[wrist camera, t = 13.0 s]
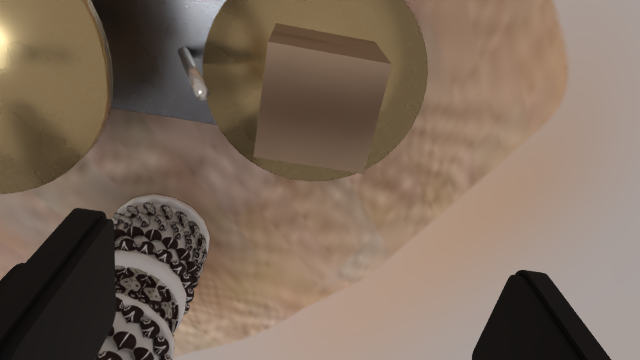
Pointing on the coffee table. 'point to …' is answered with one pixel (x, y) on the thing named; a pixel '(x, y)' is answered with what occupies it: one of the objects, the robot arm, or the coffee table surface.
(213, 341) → the coffee table surface
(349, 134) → the walnut block
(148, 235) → the decorative candle
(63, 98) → the balance
